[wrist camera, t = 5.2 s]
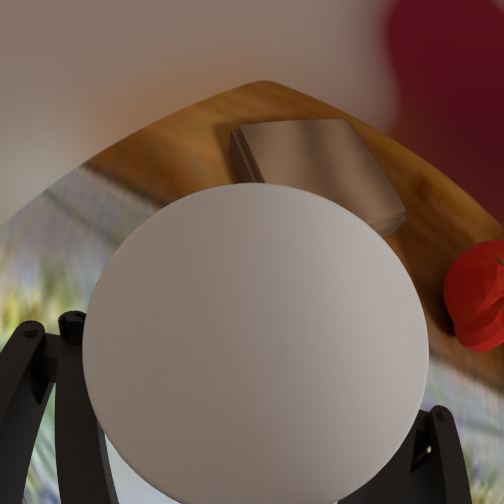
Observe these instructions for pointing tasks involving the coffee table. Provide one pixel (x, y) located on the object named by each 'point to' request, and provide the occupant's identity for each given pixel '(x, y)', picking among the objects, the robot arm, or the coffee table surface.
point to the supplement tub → (255, 348)
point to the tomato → (477, 296)
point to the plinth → (319, 166)
